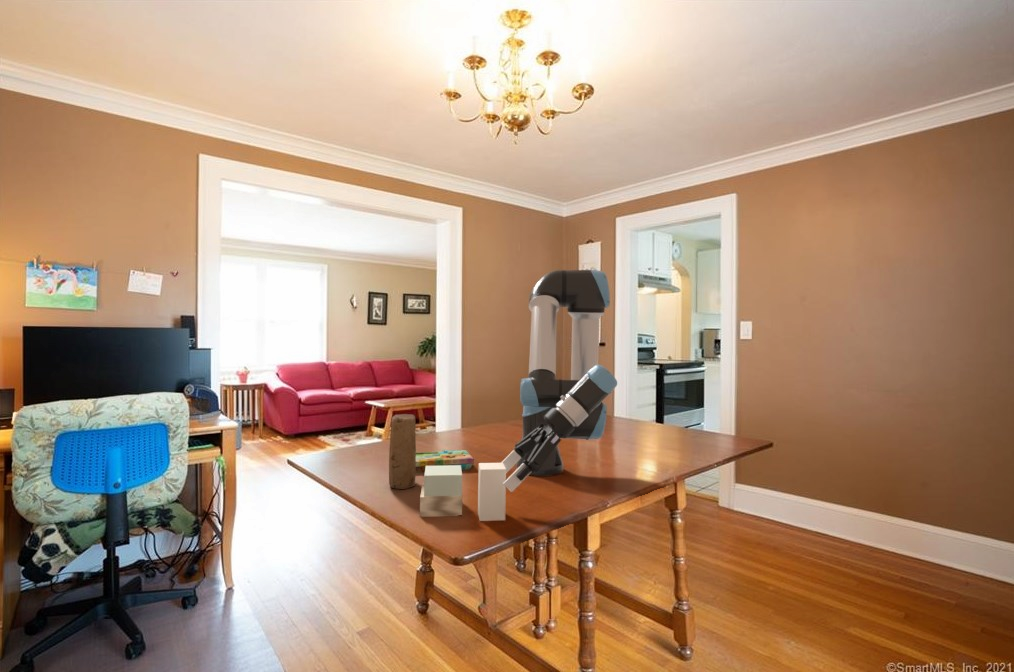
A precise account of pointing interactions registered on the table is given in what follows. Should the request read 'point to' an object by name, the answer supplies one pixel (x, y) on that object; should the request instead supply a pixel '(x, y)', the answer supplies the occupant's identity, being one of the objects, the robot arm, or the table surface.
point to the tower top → (443, 480)
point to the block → (402, 452)
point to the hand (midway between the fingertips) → (502, 479)
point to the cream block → (491, 491)
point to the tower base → (440, 505)
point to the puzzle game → (444, 459)
